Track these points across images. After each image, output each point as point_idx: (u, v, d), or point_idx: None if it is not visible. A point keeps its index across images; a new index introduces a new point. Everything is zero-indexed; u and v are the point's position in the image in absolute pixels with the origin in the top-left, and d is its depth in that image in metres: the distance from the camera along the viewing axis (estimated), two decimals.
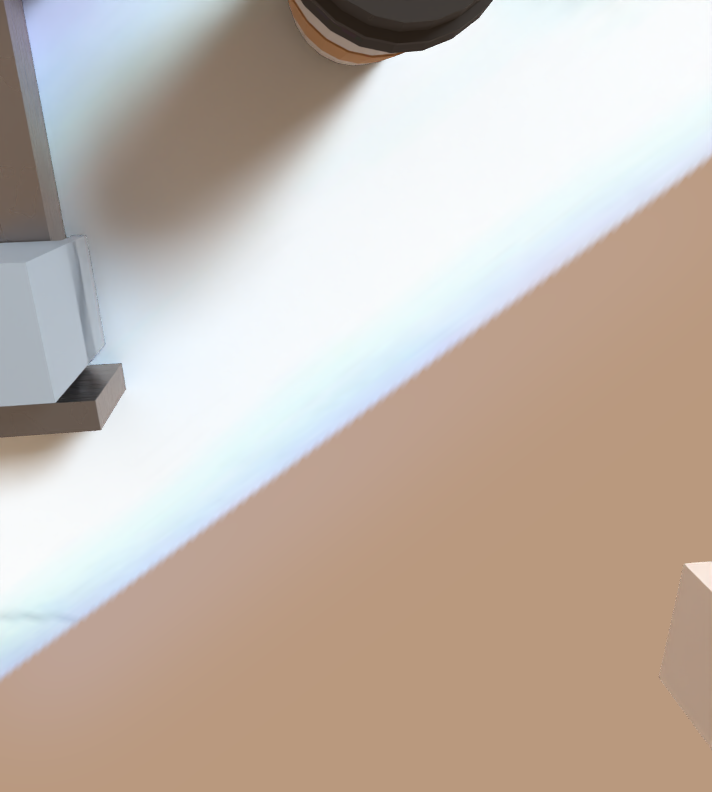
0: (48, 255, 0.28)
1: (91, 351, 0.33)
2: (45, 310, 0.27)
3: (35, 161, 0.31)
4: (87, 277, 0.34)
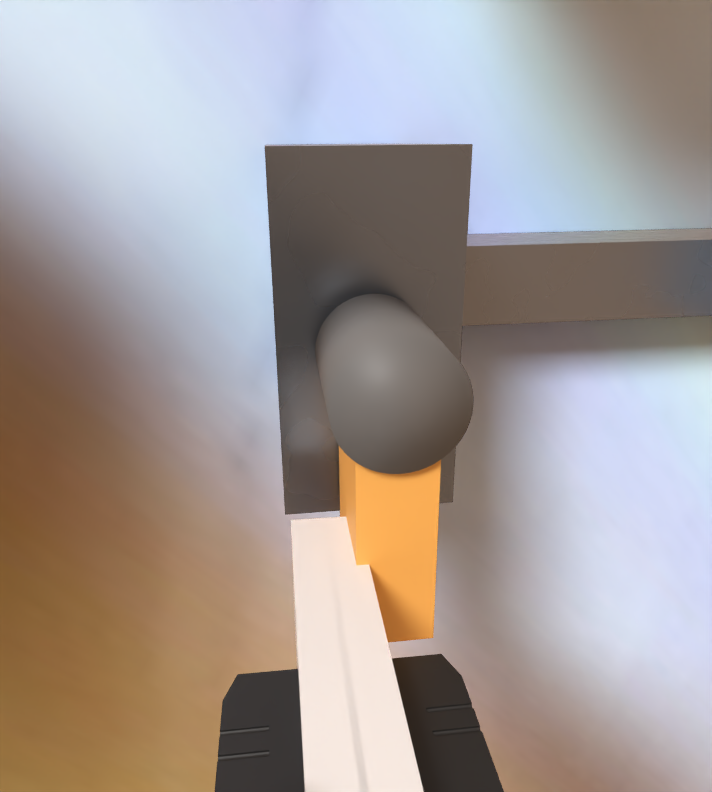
0: None
1: None
2: None
3: (692, 239, 0.20)
4: None
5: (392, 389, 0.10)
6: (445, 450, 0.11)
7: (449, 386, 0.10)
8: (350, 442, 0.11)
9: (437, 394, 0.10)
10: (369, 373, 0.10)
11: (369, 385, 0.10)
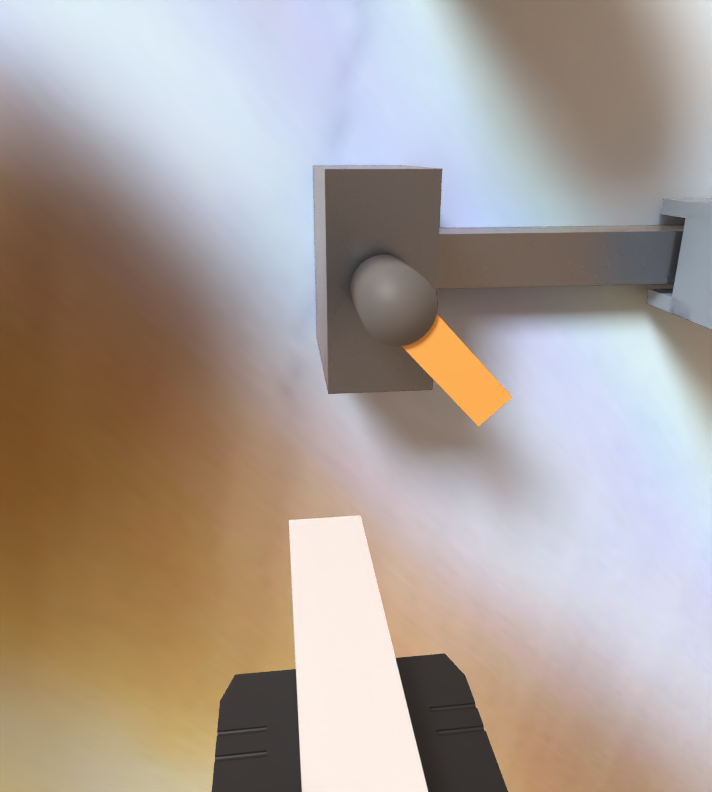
0: None
1: None
2: None
3: (601, 231, 0.29)
4: None
5: (387, 304, 0.20)
6: (434, 310, 0.20)
7: (410, 283, 0.20)
8: (390, 339, 0.20)
9: (408, 290, 0.20)
10: (372, 306, 0.20)
11: (376, 311, 0.20)
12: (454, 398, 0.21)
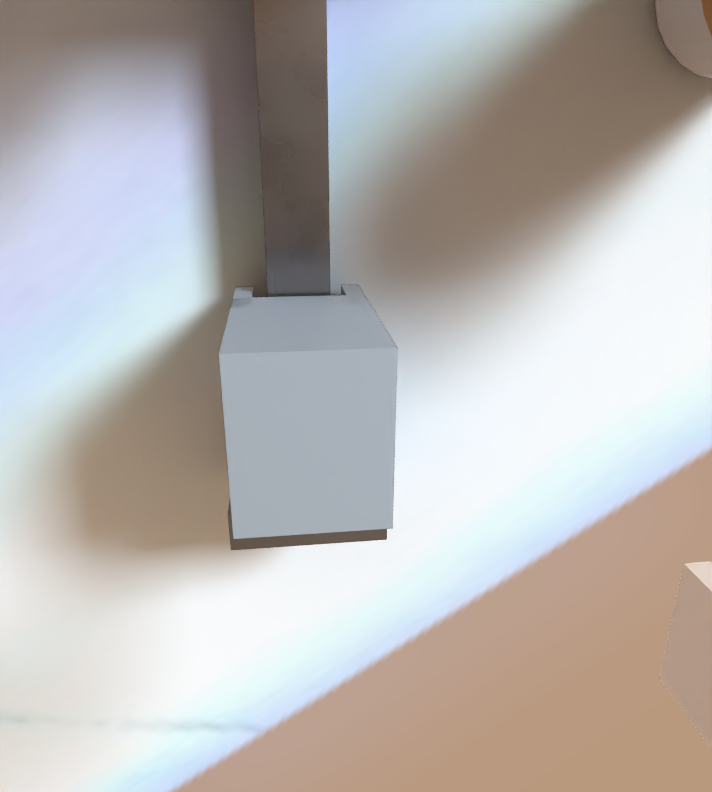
0: (382, 326, 0.21)
1: None
2: None
3: (328, 193, 0.24)
4: None
5: None
6: None
7: None
8: None
9: None
10: None
11: None
12: None
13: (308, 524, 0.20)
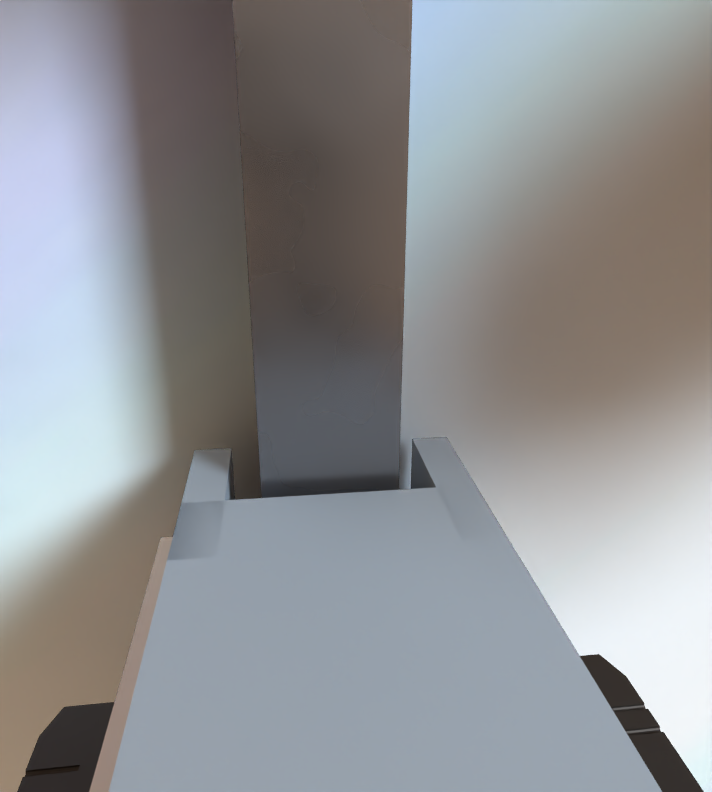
0: (587, 679, 0.07)
1: None
2: None
3: (403, 269, 0.10)
4: None
5: None
6: None
7: None
8: None
9: None
10: None
11: None
12: None
13: None
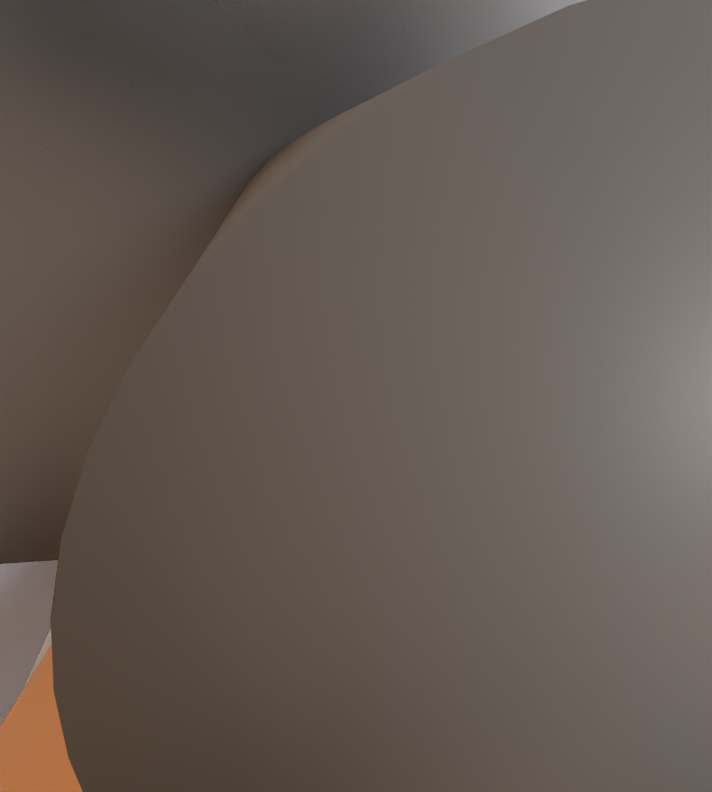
0: None
1: None
2: None
3: None
4: None
5: None
6: None
7: None
8: (166, 703, 0.01)
9: None
10: None
11: (636, 352, 0.01)
12: None
13: None
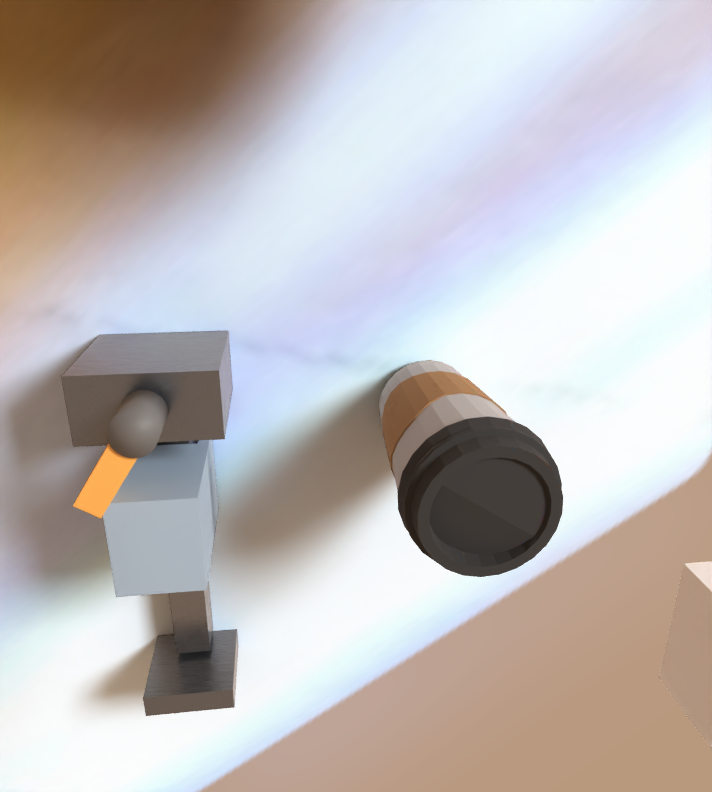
0: (202, 476, 0.37)
1: (215, 524, 0.42)
2: (202, 522, 0.36)
3: None
4: (212, 465, 0.43)
5: (132, 428, 0.31)
6: (139, 456, 0.31)
7: (150, 437, 0.31)
8: (110, 436, 0.31)
9: (145, 438, 0.31)
10: (128, 420, 0.31)
11: (126, 423, 0.31)
12: (86, 485, 0.32)
13: (158, 588, 0.36)
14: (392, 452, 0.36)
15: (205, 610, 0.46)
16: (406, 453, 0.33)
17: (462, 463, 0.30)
